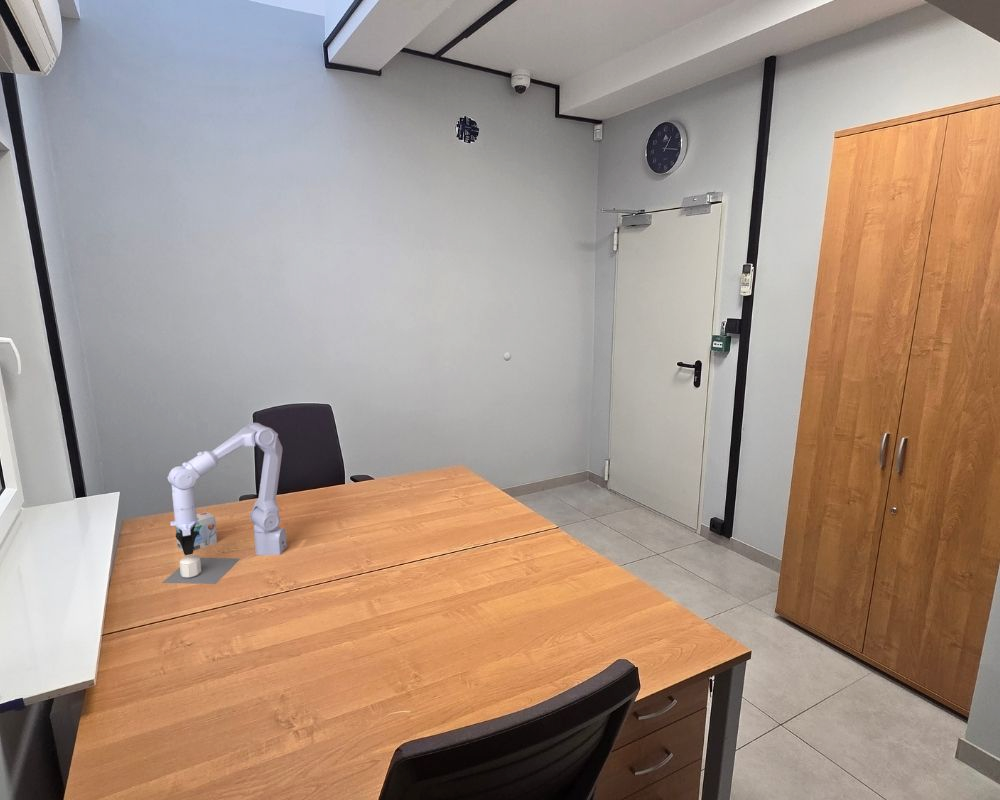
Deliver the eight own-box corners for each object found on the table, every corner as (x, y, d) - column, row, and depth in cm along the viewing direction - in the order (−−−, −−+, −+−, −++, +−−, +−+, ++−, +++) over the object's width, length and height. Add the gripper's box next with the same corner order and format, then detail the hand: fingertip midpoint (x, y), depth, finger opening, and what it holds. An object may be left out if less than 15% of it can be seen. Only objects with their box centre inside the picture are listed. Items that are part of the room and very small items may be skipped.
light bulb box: (185, 556, 182) (182, 525, 180) (176, 550, 186) (173, 520, 184) (218, 545, 190) (216, 515, 188) (209, 539, 194) (206, 510, 192)
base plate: (241, 561, 179) (240, 558, 179) (215, 586, 163) (215, 583, 163) (191, 560, 179) (191, 557, 179) (161, 585, 163) (161, 582, 163)
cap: (204, 568, 171) (202, 555, 170) (194, 577, 165) (193, 563, 165) (187, 568, 171) (186, 555, 170) (177, 577, 165) (176, 563, 165)
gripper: (169, 500, 168) (173, 542, 171) (168, 517, 156) (173, 562, 158) (195, 496, 172) (199, 537, 174) (196, 513, 159) (200, 556, 162)
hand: (188, 549), depth 167 cm, fingers open, 7 cm apart
